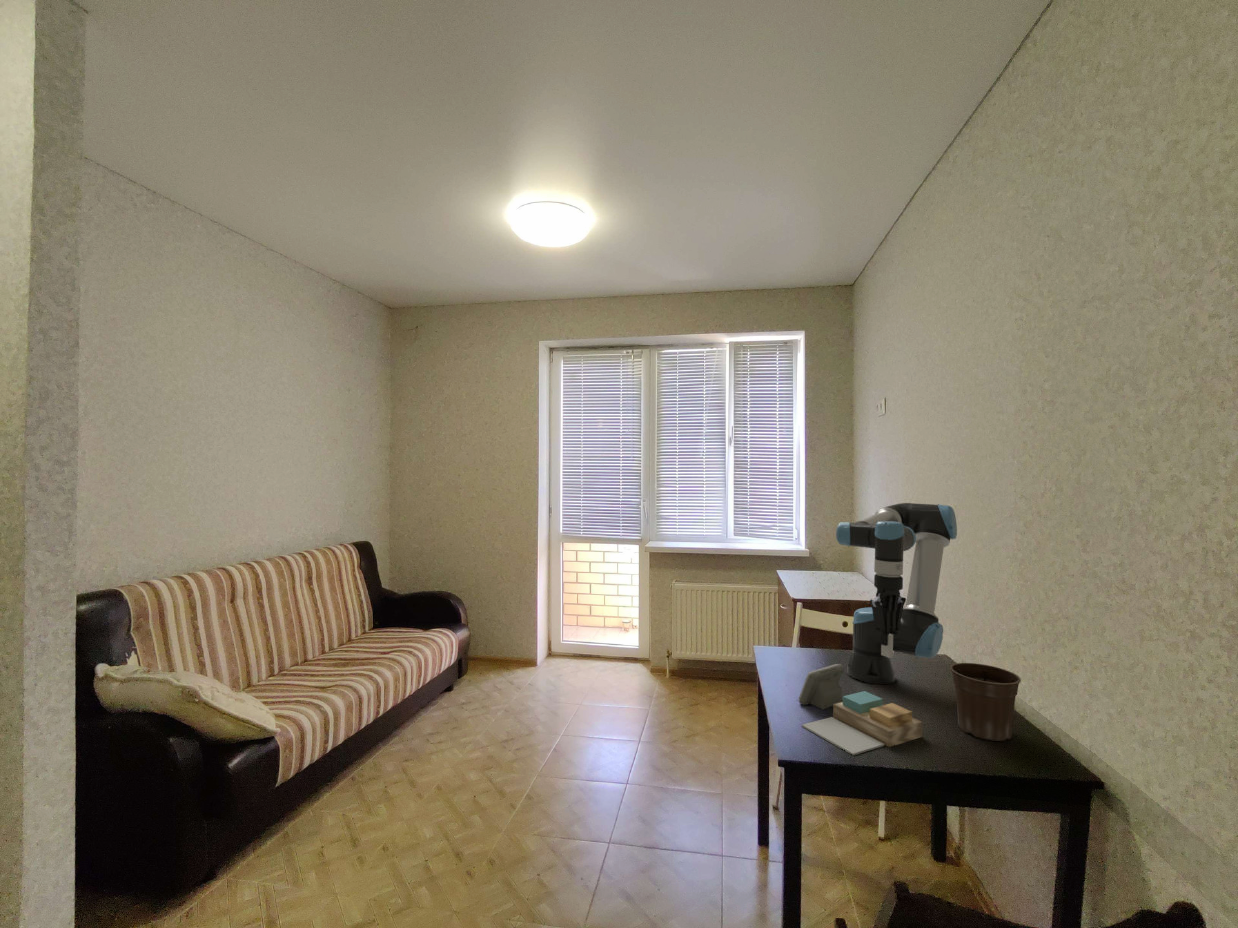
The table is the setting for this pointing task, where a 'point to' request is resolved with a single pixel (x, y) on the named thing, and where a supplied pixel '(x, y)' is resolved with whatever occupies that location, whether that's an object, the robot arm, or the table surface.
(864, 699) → the teal tile
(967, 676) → the plant pot
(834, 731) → the mat
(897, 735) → the platform
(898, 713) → the ochre tile
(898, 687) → the table surface
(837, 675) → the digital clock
